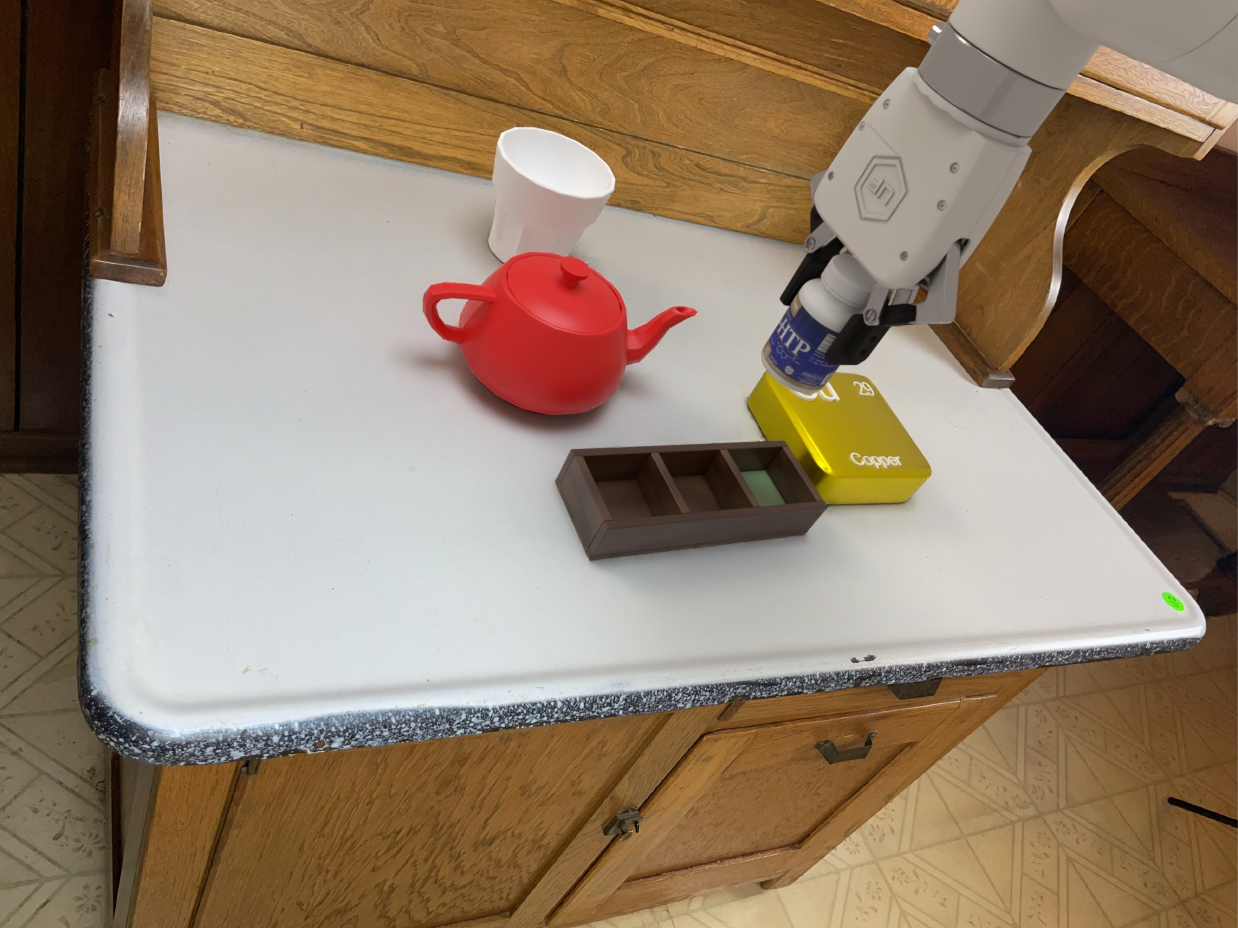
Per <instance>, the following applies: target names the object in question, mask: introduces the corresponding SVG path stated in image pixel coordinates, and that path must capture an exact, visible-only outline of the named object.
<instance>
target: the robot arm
mask: <svg viewBox="0 0 1238 928" xmlns="http://www.w3.org/2000/svg"><path fill="white" fill-rule="evenodd" d="M926 42H927V44H929V45H930V48H929V49H928V51H927V53H926V54H925V56H924V58H923V59H922V61H921V63H920V65H919V66H918V67H913V66H907V67H905V69H904V70H902V72H901V73H899V75H897V77H896V78H895V79H894V80H893V81H892V82H891V83H890V84H889V85H888V86H887V88H886V89H885V90H884V91H883V92H882V93H881V94H880V96H879V97H878V98H877V99H876V101H874V103H873V104H872V106H871V107H870V108H869V109H868V110H867V112H866V113H865V114H864V116H863V117H862V119H860V121H859V123H858V124H857V126H856V127H855V128H854V130H853V131H852V133H851V134H850V135H849V137H848V138H847V139H846V141H845V143H844V144H843V145H842V147H841V149H840V150H839V152H838V153H837V154H836V156H835V158H834V159H833V161H832V162H831V163H830V165H829V167H828V168H827V169H824V170H821V171H819V172H817V173H814V174H813V175H812V177H811V178H810V179H811V180H810V193H811V194H810V195H811V205H812V207H811V208H810V212H809V213H810V214H809V216H810V217H809V227H810V228H809V235H808V236H807V237H806V238H805V240H804V244H803V246H804V250H805V252H806V254H805V256H804V257H803V259H802V261H801V262H800V264H799V265H798V267H797V269H796V270H795V272H794V274H793V275H792V277H791V278H790V280H789V282H788V283H787V285H786V286H785V288H784V290H783V291H782V293H781V294H780V296H779V301H780V302H781V304H782V305H783V306H785V307H789V306H790V305H791V303H792V302H793V300H794V298H795V297H796V295H797V294H798V292H799V291H800V289H801V288H802V286H803V285H804V284H805V283H806V282H808V281H810V280H812V279H816V278H821V274H822V273H823V272H824V270H825V268H826V266H827V265H828V263H829V262H830V261H831V259H832V258H833V257H834V256H836V255H844V253H846V251H849V252H850V254H851V255H852V257H853V258H855V259H857V260H858V261H859V263H860V264H861V265H862V266H863V267H864V268H865V269H866V271H867V272H868V273H869V274H870V275H871V276H872V277H873V278H874V279H875V280H876V281H875V284H874V287H873V289H872V292H871V295H870V297H869V300H868V303H867V305H866V308H865V311H864V314H854V315H852V316H851V318H850V319H849V320H848V322H847V323H846V325H845V326H844V328H843V329H842V330H841V332H840V333H839V335H838V336H837V337H836V339H835V340H834V342H833V343H832V345H831V346H830V347H829V349H828V350H827V352H826V353H825V358H824V359H825V360H826V362H827V363H828V364H829V365H840V366H859V365H860V364H862V363H863V362H865V361H866V360H867V359H868V358H869V357H870V356H871V354H872V353H873V352H874V350H875V349H876V347H877V346H878V345H879V344H880V342H881V341H882V340H883V338H884V337H885V335H886V334H887V333H888V332H889V330H890V329H891V328H892V327H899V328H900V327H904V326H915V325H949V324H952V323H953V322H954V321H955V320H956V314H957V304H958V290H959V279H960V278H959V277H960V270H961V269H962V268H963V266H964V265H965V264H966V262H967V261H968V259H969V258H970V257H971V256H972V254H973V253H974V251H976V249H977V247H978V246H979V245H980V243H981V241H982V240H983V239H984V237H985V235H986V234H987V232H988V231H989V229H990V228H991V226H992V225H993V223H994V222H995V220H996V219H997V217H998V215H999V214H1000V212H1001V211H1002V209H1003V208H1004V206H1005V204H1006V202H1007V201H1008V198H1010V196H1011V194H1012V192H1013V190H1014V188H1015V186H1016V185H1017V183H1018V181H1019V178H1020V177H1021V175H1022V173H1023V171H1024V169H1025V167H1026V165H1027V164H1028V163H1027V162H1028V160H1029V158H1030V156H1031V154H1032V152H1033V149H1032V148H1031V147H1030V146H1029V144H1028V143H1029V142H1030V141H1031V140H1032V138H1033V136H1034V135H1036V133H1037V131H1039V129H1040V127H1041V126H1042V125H1043V124H1044V122H1045V121H1046V119H1047V118H1048V117H1049V115H1050V114H1051V113H1052V112H1053V110H1054V108H1055V107H1056V106H1057V105H1058V104H1059V102H1060V101H1061V100H1062V98H1063V97H1064V96H1065V94H1066V92H1067V91H1068V89H1069V88H1070V87H1071V86H1072V84H1073V83H1074V82H1075V81H1076V79H1077V77H1078V75H1079V74H1080V73H1081V72H1082V71H1083V70H1084V69H1085V68H1086V66H1087V64H1088V63H1089V62H1090V61H1091V59H1092V58H1093V56H1094V55H1095V54H1096V53H1097V51H1098V50H1099V48H1100V47H1101V45H1102V46H1103V47H1105V48H1108V49H1110V50H1112V51H1114V52H1117V53H1118V54H1120V55H1123V56H1125V57H1127V58H1129V59H1132V60H1133V61H1135V62H1139V63H1143V64H1145V65H1146V66H1149V67H1151V68H1154V69H1156V70H1158V71H1160V72H1162V73H1164V74H1166V75H1169V76H1170V77H1173V78H1175V79H1177V80H1180V81H1182V82H1184V83H1186V84H1188V85H1189V86H1192V87H1194V88H1196V89H1198V90H1200V91H1202V92H1203V93H1206V94H1208V95H1210V96H1212V97H1214V98H1216V99H1219V100H1222V101H1225V102H1228V103H1231V104H1234V105H1238V0H958V3H957V4H956V5H955V8H954V9H953V11H952V12H951V14H950V15H949V17H948V19H947V20H946V21H945V22H944V21H940V22H938V23H936V24H934V25H932V27H931V28H930V30H929V31H928V34H927V36H926ZM920 288H922V289H923V290H924V291H925V290H926V291H927V293H926V294H927V295H926V298H925V300H924V301H922V302H917V303H916V302H915V303H914V301H915V299H916V297H917V294H918V292H919V289H920ZM894 292H895V293H894ZM893 294H894V295H893ZM892 296H893V297H892ZM891 298H892V301H891ZM890 302H891V303H890Z"/></svg>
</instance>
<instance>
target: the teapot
mask: <svg viewBox="0 0 1238 928" xmlns="http://www.w3.org/2000/svg"><path fill="white" fill-rule="evenodd" d="M451 299H454V300H455V299H458V300H467V301H466V302H465V304H464V306H463V308H462V310H461V312H460V315H459V321H458V327H457V326H454V325H451V324H447V323H445V322H444V320H442V317H441V316H440V313H439V311H438V307H437V306H438V304H439V303H440V302H441V300H451ZM422 313H423V315H424V317H425V319H426V321H427V323H428V325H429V326H430V327H431V329H432V330H433V331H434V332H435V333H436V334H437V335H438V336H439V337H440V338H441V339H442V340H445V341H448V342H452V343H455V344H458V347H459V350H460V352H462V355H463V357H464V359H465V361H466V363H467V365H468V367H469V370H470V371H471V373H472V375H474V377H475V378H476V379H478V381H479V382H480V383H482V384H483V385H484V386H485V387H486V388H487V389H488V390H489V391H490V392H492V393H493V394H494V395H495V396H496V397H498V398H500V399H502V400H504V401H506V402H508V403H510V404H512V405H513V406H516V407H518V408H520V409H522V410H526V411H531V412H535V413H539V414H544V415H549V416H553V417H554V416H565V415H566V416H567V415H576V414H577V415H579V414H584V413H588V412H589V411H591V410H594V409H595V408H597V407H599V406H601V405H602V404H604V403H606V402H608V400H610V399H611V398H612V397H613V396H614V395H615V394H616V391H617V389H618V388H619V386H620V384H621V381H622V379H623V378H624V375H625V373H626V367H627V366H631V365H634V364H639V363H641V361H643V360H644V359H645V358H646V357H647V356H648V355H649V354H650V353H651V352H652V351H653V350H654V349H655V348H656V347H657V346H658V344H659V343H660V342H661V341H662V340H663V338H664V337H665V335H666V334H667V333H668V331H670V329H672V328H673V327H675V326H677V325H678V324H680V323H682V322H684V321H686V320H687V319H689V318H691V317H695V316H696V315H697V314H698V310H696V309H695V308H693V307H689V306H684V305H677V306H676V305H675V306H672V307H669V308H667V309H666V310H664V311H662V312H659V313H658V314H656V315H655V316H654V317H652V318H651V319H650V320H648V321H647V322H646V323H644V324H642V325H639V326H638V327H636V328H633V329H629V327H628V313H627V306H626V304H625V301H624V299H623V297H622V294H621V293H620V291H619V290H618V289H617V288H616V287H615V285H613V284H612V282H610V280H608V279H606V278H605V277H604V276H603V274H600V273H599V272H598V271H597V270H596V269H594V268H592V267H590V266H589V265H588V263H586V261H584V260H582V259H580V258H578V257H574V256H568V257H564V256H561V255H557V254H554V253H545V252H527V253H523V254H520V255H517V256H513V257H511V258H510V259H509V260H508V261H506V262H505V263H503V264H501V265H500V266H499V267H497V268H496V270H495V271H493V273H491V274H490V275H489V276H488V277H487V278H486V279H484V281H483V282H482V283H481V284H474V283H473V284H472V283H465V282H450V281H449V282H447V281H443V282H439V283H434V284H430V285H429V287H428V288H427V289H426V290H425V291H424V293H423V296H422Z"/></svg>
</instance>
